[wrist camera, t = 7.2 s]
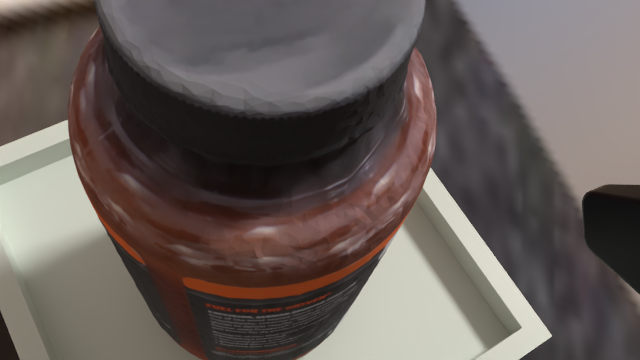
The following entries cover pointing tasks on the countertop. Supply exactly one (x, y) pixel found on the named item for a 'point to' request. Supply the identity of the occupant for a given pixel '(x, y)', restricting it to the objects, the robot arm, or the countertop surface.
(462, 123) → the countertop surface
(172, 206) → the supplement bottle
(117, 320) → the tray
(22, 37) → the countertop surface
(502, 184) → the countertop surface
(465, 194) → the countertop surface
